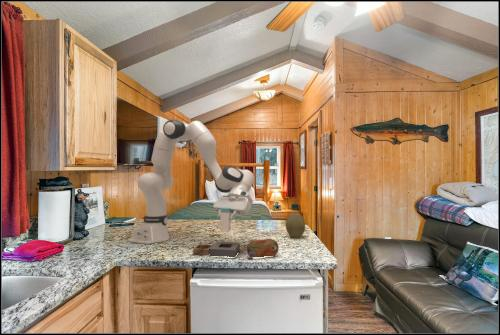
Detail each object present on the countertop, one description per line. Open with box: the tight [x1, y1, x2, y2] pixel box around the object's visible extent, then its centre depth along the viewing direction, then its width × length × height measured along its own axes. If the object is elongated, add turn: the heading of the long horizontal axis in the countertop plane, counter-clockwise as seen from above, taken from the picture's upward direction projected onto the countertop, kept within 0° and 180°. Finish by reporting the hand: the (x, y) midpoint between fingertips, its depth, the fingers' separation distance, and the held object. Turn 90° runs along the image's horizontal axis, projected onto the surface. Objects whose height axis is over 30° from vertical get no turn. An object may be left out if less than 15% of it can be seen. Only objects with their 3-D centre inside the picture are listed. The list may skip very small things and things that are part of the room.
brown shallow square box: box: [192, 243, 214, 256], centre depth 123 cm, size 8×8×3 cm
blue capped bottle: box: [219, 207, 232, 233], centre depth 122 cm, size 4×4×11 cm
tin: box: [246, 238, 279, 258], centre depth 117 cm, size 15×3×8 cm, turn 106°
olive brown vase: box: [285, 211, 306, 239], centre depth 152 cm, size 11×11×15 cm
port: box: [209, 241, 241, 257], centre depth 121 cm, size 12×12×4 cm
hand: (224, 218), depth 121 cm, fingers closed on blue capped bottle, 5 cm apart
